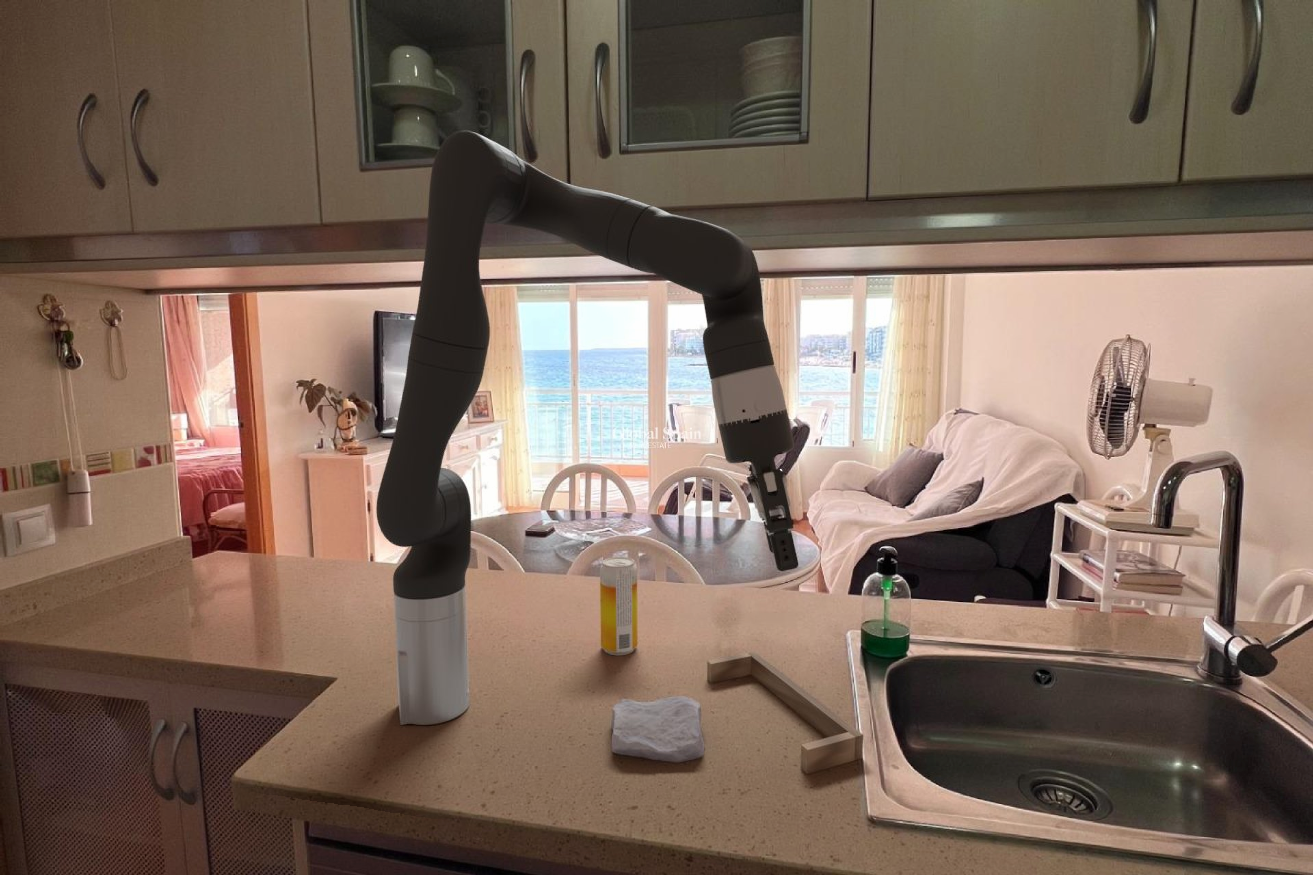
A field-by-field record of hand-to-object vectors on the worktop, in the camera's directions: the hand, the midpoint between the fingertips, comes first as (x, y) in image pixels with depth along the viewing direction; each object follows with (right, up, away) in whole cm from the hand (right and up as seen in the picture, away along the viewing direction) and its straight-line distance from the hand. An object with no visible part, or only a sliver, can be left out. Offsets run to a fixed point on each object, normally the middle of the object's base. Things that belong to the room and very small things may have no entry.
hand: (783, 559), depth 73 cm
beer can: (-20, -22, +39) cm, 49 cm away
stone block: (-14, -26, +12) cm, 32 cm away
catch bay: (+2, -24, +18) cm, 31 cm away
